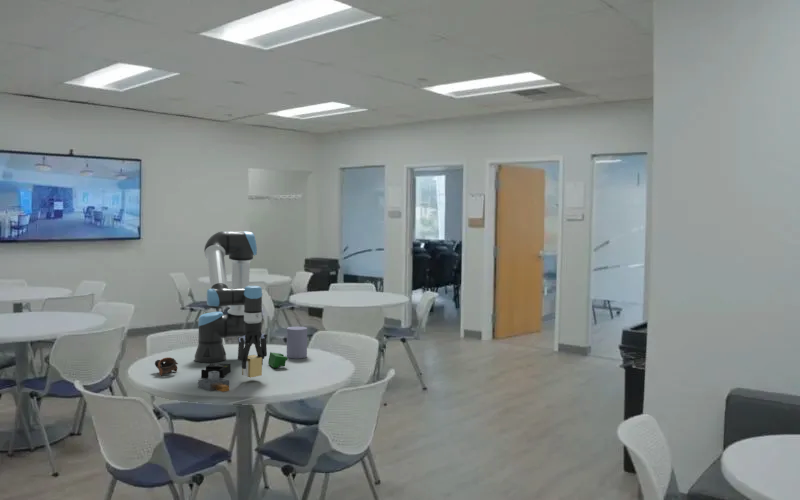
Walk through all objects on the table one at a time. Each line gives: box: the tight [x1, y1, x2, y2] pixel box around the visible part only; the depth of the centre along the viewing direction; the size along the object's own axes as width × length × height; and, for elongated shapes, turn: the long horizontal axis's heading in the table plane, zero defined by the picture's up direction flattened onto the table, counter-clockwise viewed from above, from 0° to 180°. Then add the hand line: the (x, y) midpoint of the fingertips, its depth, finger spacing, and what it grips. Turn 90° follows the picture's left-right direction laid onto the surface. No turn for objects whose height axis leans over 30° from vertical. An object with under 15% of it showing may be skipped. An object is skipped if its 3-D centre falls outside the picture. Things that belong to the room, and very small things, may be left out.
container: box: [286, 326, 308, 360], centre depth 329 cm, size 10×10×15 cm
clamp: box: [267, 351, 288, 369], centre depth 307 cm, size 12×6×9 cm, turn 21°
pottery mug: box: [154, 357, 179, 377], centre depth 287 cm, size 12×9×8 cm
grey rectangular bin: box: [197, 371, 230, 393], centre depth 265 cm, size 14×9×6 cm, turn 48°
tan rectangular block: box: [241, 354, 263, 379], centre depth 277 cm, size 6×6×8 cm
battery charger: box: [200, 363, 232, 379], centre depth 288 cm, size 13×10×4 cm
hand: (252, 374), depth 277 cm, fingers closed on tan rectangular block, 6 cm apart
